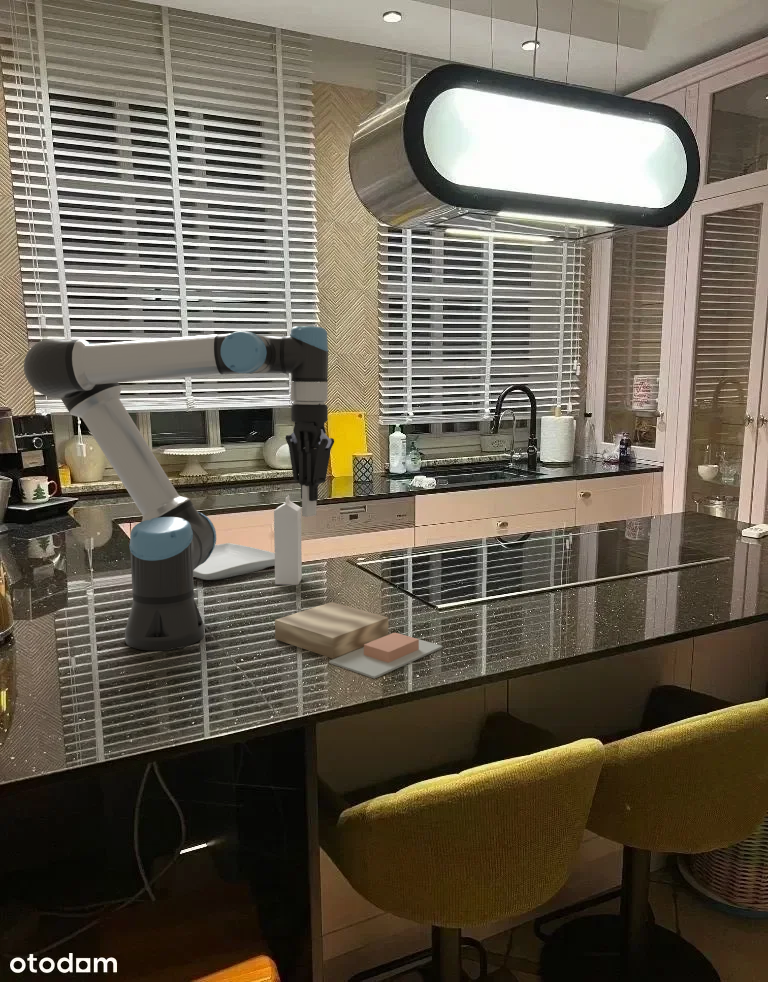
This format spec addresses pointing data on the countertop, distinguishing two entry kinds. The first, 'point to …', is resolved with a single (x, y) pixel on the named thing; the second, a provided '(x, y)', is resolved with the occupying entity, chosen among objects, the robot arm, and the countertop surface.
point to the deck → (331, 629)
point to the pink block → (391, 647)
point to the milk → (288, 543)
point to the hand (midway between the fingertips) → (309, 515)
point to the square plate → (233, 561)
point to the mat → (378, 667)
